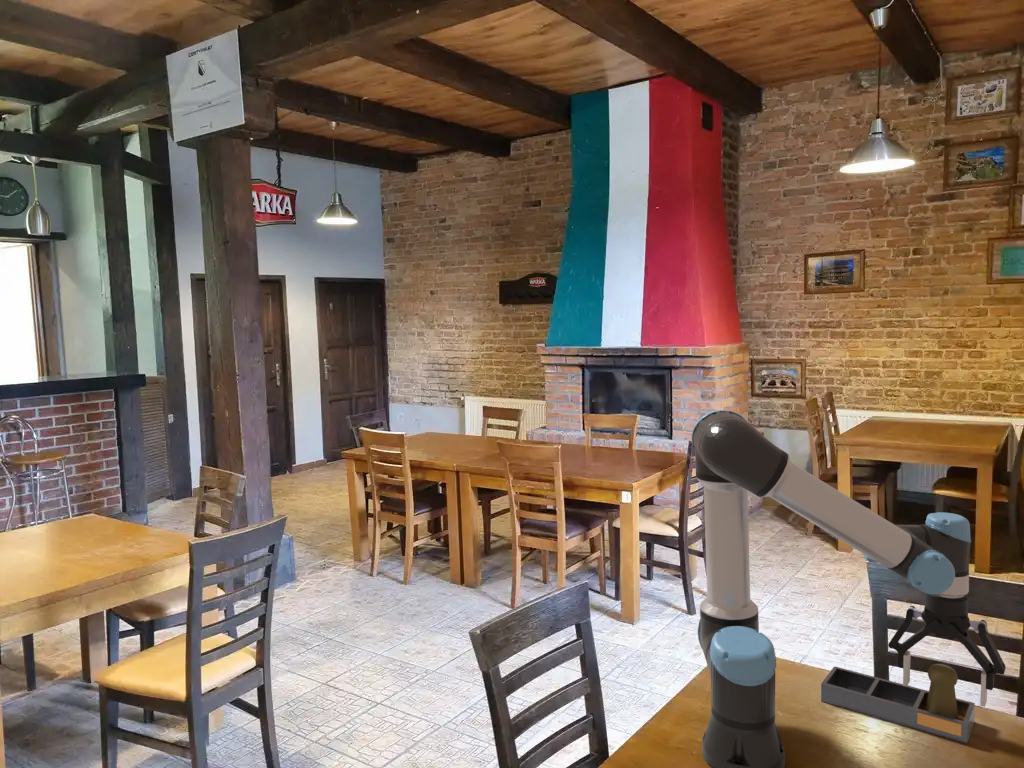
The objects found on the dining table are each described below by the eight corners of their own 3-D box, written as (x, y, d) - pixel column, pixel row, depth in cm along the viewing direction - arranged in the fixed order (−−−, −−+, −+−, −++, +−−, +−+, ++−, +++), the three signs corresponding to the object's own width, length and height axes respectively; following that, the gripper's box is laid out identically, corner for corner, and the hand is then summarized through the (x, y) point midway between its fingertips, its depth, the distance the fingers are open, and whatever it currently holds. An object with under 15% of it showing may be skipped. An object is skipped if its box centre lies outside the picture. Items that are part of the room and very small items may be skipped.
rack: (974, 721, 150) (974, 703, 150) (966, 744, 143) (967, 724, 143) (834, 683, 168) (834, 666, 167) (820, 701, 160) (821, 683, 160)
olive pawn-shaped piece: (963, 728, 146) (965, 675, 145) (930, 725, 148) (931, 673, 146) (952, 712, 152) (953, 661, 151) (920, 709, 153) (921, 659, 152)
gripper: (1024, 599, 142) (1020, 704, 144) (882, 573, 158) (881, 668, 160) (1020, 612, 136) (1016, 721, 138) (873, 584, 152) (872, 682, 154)
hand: (943, 693), depth 149 cm, fingers open, 13 cm apart
